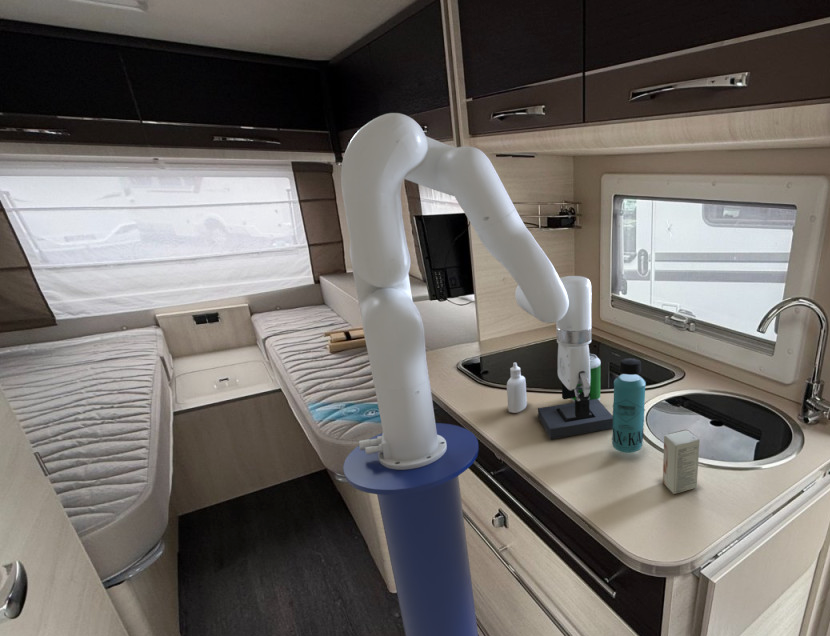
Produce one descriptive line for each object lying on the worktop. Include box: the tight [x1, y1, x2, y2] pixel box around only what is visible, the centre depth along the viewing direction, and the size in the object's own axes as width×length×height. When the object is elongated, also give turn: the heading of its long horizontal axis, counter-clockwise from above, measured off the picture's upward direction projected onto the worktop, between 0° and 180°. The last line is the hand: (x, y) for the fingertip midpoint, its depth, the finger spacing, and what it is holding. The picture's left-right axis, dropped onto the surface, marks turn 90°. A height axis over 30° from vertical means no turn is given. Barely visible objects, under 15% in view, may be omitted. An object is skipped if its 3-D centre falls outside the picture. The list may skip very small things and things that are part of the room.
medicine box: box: [662, 428, 701, 495], centre depth 84 cm, size 5×4×10 cm
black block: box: [559, 405, 592, 422], centre depth 108 cm, size 6×6×3 cm
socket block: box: [537, 399, 613, 440], centre depth 108 cm, size 15×11×2 cm
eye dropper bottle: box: [506, 362, 528, 414], centre depth 113 cm, size 4×6×12 cm
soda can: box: [570, 353, 602, 403], centre depth 117 cm, size 8×8×12 cm
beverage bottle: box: [611, 357, 647, 454], centre depth 93 cm, size 6×7×20 cm
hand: (575, 406), depth 107 cm, fingers open, 9 cm apart
